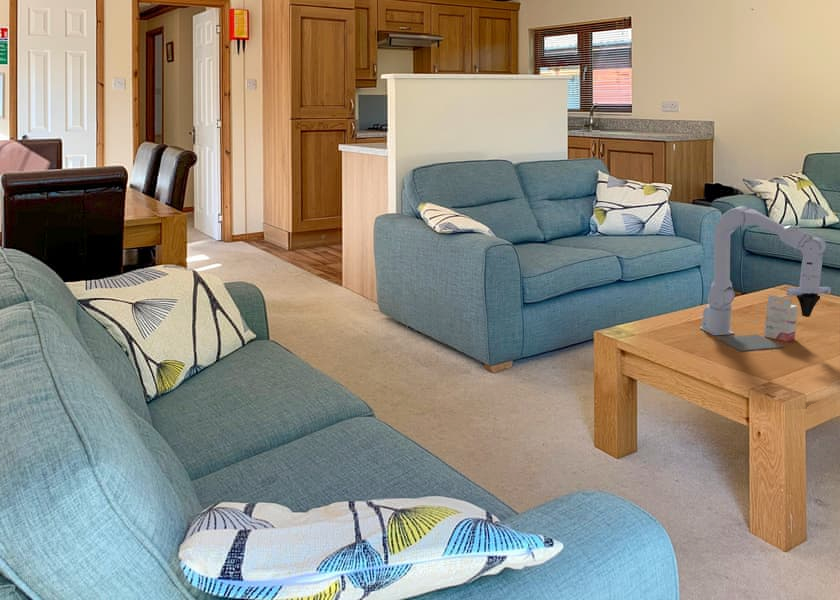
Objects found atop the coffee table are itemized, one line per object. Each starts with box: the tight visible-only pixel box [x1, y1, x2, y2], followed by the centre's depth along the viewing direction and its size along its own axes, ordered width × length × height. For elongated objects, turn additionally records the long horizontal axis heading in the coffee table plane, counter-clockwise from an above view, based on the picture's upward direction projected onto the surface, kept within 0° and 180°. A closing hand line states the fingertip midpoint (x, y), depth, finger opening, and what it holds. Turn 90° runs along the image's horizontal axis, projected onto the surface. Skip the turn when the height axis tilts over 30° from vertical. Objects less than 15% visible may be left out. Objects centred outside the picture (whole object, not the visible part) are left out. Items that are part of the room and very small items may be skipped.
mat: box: [716, 334, 785, 352], centre depth 255 cm, size 14×16×1 cm
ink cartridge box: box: [763, 294, 799, 342], centre depth 259 cm, size 9×5×15 cm, turn 37°
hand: (805, 316), depth 248 cm, fingers closed
